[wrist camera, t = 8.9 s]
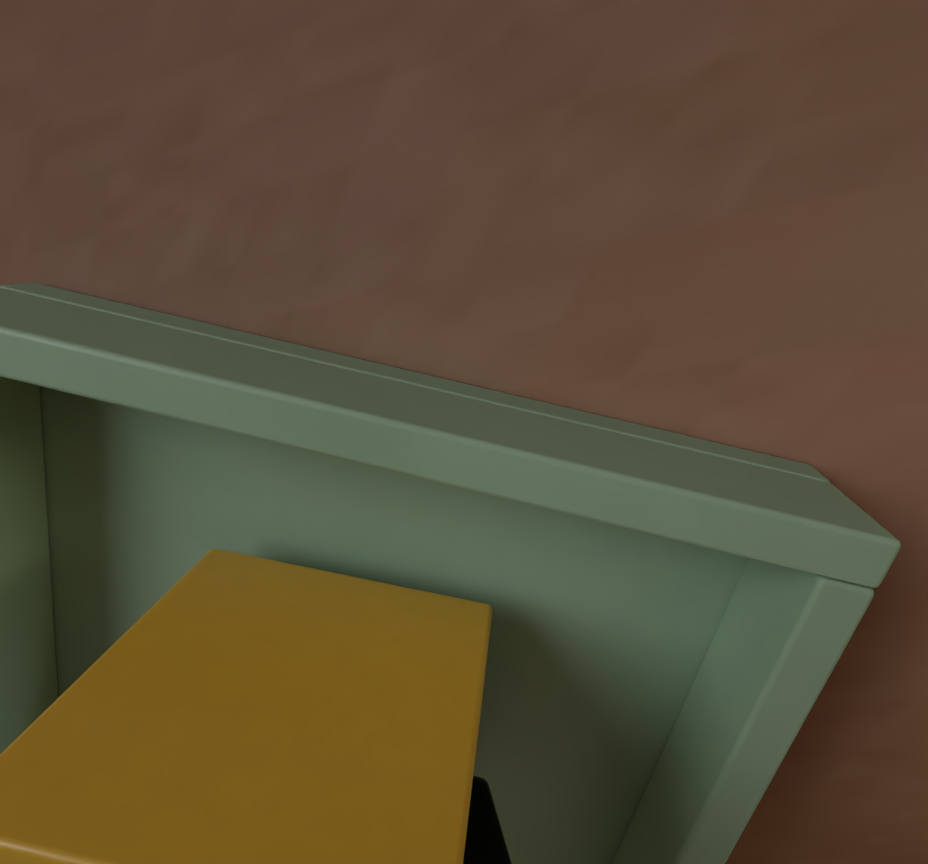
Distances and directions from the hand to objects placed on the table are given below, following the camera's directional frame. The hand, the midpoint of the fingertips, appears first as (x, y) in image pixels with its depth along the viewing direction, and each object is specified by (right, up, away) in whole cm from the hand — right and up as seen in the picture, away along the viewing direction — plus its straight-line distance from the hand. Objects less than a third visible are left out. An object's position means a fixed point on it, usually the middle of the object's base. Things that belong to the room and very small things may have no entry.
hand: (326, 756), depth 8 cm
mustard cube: (0, +1, 0) cm, 1 cm away
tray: (0, +1, +2) cm, 2 cm away
